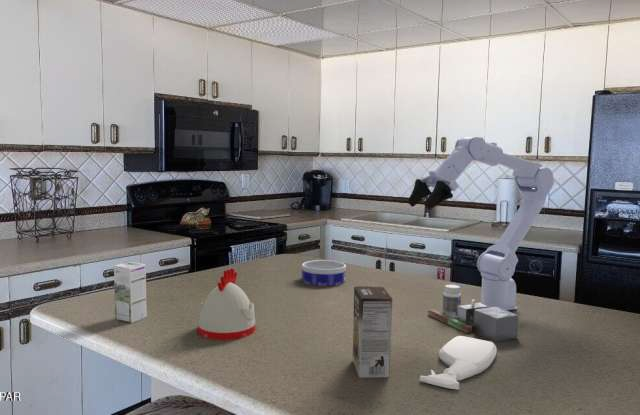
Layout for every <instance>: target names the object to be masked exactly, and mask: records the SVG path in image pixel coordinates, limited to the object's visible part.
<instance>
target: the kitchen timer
mask: <svg viewBox="0 0 640 415" xmlns="http://www.w3.org/2000/svg"><path fill="white" fill-rule="evenodd" d="M237 276H238V272H235V268H230V269H226V270H223V276H220V277H219V278H220V282H217V283H216V284H217V286H216V287H214V288H213V289H212V290H211V291H210V293H209V294H207V297H206V298H205V301H204V302H201V303H200V307H199V309H200V310H199V311H200V314H199V318H198V321H197V322H198V323H197V332H198V334H199V335H200V336H202V337H204V338H207V339H212V340H224V341H225V340H235V339H241V338H244V337H249V336H250V335H252V334H254V332H255V331H256V316H255V305H254V302H251V301H250V299H249V297H248V296H247V294H246V293H245V292H244V290H243V289H242V288H241V287H239V286H238V285H237V284H236V281H237Z"/></svg>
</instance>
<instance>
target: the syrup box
mask: <svg viewBox="0 0 640 415" xmlns="http://www.w3.org/2000/svg"><path fill="white" fill-rule="evenodd" d="M146 270H147V268H146V264H145V263H140V262H134V261H133V262H131V261H126V262H121V263H118V264H116V265H115V264H114V265H113V275H114V276H113V278H114V279H113V280H114V285H113V286H114V314H115V315H114V316H115V317H114V318H115V319H114V320H116V321H120V322H125V323H129V324H132V323H133V324H134V323H135V322H138V321H141V320H144V319H147V316H148V314H147V276H146V275H147V272H146Z"/></svg>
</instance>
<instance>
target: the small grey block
mask: <svg viewBox="0 0 640 415" xmlns="http://www.w3.org/2000/svg"><path fill="white" fill-rule="evenodd" d="M475 303H476V300H475V299H471V303H470V304H464V305H462V304H461V306H459V307H458V318H457V320H458V321H461V322H463V323H465V324H467V325H470V326H472V328H474V310H475V309H483V308H488V306H486V305H483V304H480V303H481V302H477V303H478V304H475Z"/></svg>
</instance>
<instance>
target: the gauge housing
mask: <svg viewBox="0 0 640 415" xmlns="http://www.w3.org/2000/svg"><path fill="white" fill-rule="evenodd" d="M518 327H519V314H517V313H513V312H511V311H510V310H503V309H501V308H498V307H490V308H483V309H475V310H474V327H473V328H472V332H473V333H475V335H479V336H481V337H483V338H485V339H487V340H488V341H490V342H493V343H498V342H504V341H509V340H514V339H515V340H516V339H518V333H519V331H518Z"/></svg>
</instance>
